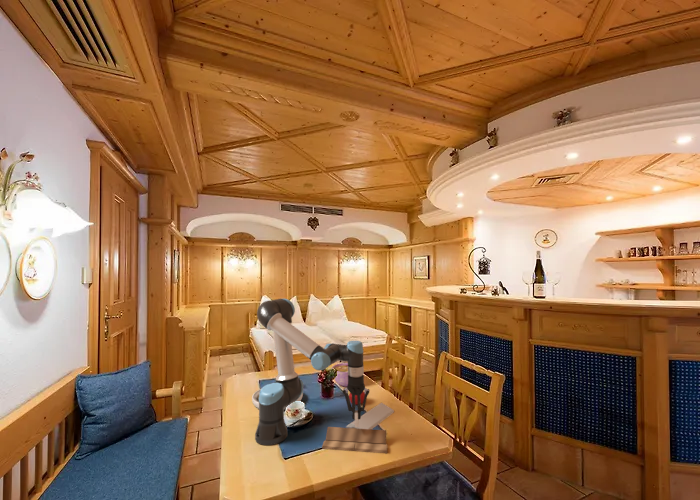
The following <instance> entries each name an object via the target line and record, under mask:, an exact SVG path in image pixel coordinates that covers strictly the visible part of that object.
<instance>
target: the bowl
mask: <svg viewBox="0 0 700 500" xmlns="http://www.w3.org/2000/svg"><path fill="white" fill-rule="evenodd" d="M262 388H263V387H261V388H260V389H258V390H256V391H255V392H254V393H253V394H252V396H251V402H252V403H253V404H252V405H253V406H255V408H257V409H259V393H260V390H261V389H262ZM303 395H304V392H303V393H302V395H301V396H300V397H299V398H298V399H297V400H296V401H300V402H301V401H302V398H303V397H304V396H303ZM285 410H287V409H286V407H285V408H284V411H285Z"/></svg>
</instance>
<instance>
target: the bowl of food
mask: <svg viewBox="0 0 700 500" xmlns="http://www.w3.org/2000/svg"><path fill="white" fill-rule="evenodd" d="M333 368H334V369H337V370H338V371H337V376H336V378H335V379H334V381H335V383H336V384H338V385H340V386H341V387H346V388H347V386H348V362H342V363H341V362H340V363H337V364H333V365H332V367H331V370H332V369H333Z"/></svg>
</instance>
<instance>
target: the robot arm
mask: <svg viewBox="0 0 700 500" xmlns="http://www.w3.org/2000/svg"><path fill="white" fill-rule="evenodd" d="M295 310H296V308H295V305H294V303H293V302H292V301H291V300H290V299H287V298H276V299H272V300H265V301H263V302H262V303H261V304H260V305H259V306H258V308H257V311H256V317H257V320H258V321H259V323H260V324H261V325H262V327H263V328H265V329H266V330H268V331H272V332H273V337H274V338H273V339H274V349H275V356H276V357H275V358H276V367H277V376H276V377H275V382H271V383H268V384H265V385H264V386H262V387H261V388H262V389H261V388H260V389H261V390H260V393H259V408H258V409H259V410H258V425H257V427H256V430H255V435H254V440H255V443H257V444H259V445H262V446H273V445H277V444H280V443H282V442H283V441H285V440H286V439H287V437H288V428H287V424H286V422H285V410H284V408H285V407H287V406H288V405H290V404H291V403H293V402H295V401H296V400H297V399H298V398H299V397H300V396H301V395H302V393H303V394H304V387H305V386H304V382H303V381H302V379H301V378H300V377H299V374H298V373H297V372H296V370H295V365H294V355H293V348H295V349H296V350H297V351H298V352H299V353H301V354H303V355H304V356H305V357H306V358H307V359H309V360H310V363H311V366H312V368H313V369H314V370H316V371H323V370H325V369H327V368H329V367H330V366H332V365H334V364H335V363H336V362H339V361H341V362H346V363H348V386H347V387H346V388H343V389H342V393H343V395H344V397H345V402H346V405H347V406H346V407H347V410H348V411H349V412H351V413H352V415H351V416H352V419H353V420H354V421H355V427H358V426H359V419H360V418H361V416H362V414H361V413H363V412H365V408H366V403H367V399H368V396H369V394H370V391H371V390H370V389H369V388H366V385H365V379H364V378H365V376H364V371H365V370H364V345H363V342H362V341H361V340H349V341H347V344H342V343H341V344H340V343H339V344H338V343H326V345H324V347H323V346H322V345H320V344H318V343H317V342H316V341H314V340H313V339H312V338H310V337H309V336H308V335H306V334H305V333H304V332H302V331H301V330H299V329H298V328H297V327H296V326H294V325H293V317H294V315H295V313H296V311H295ZM363 391H364V393H365V396H364V401H363V403H362V404H361V397H360V396H361V394H362V392H363ZM350 393H351V394H352V403H351V402H350V399H349V394H350ZM355 395H357V401H358V405H357V407H356V405H355ZM356 408H357V410H356Z"/></svg>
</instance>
